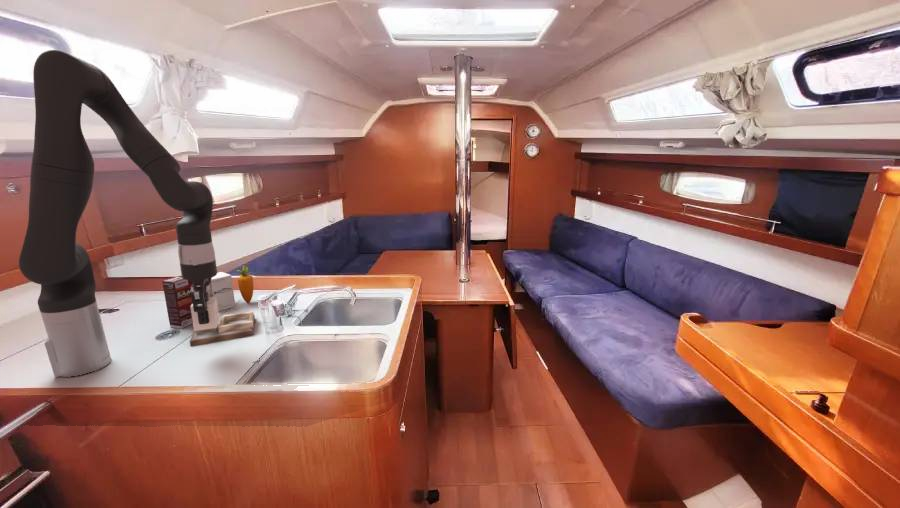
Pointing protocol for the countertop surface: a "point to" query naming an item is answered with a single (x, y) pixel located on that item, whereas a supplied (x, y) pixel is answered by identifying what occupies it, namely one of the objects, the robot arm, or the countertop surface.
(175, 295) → the supplement box
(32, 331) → the countertop surface
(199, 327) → the cream block
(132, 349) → the countertop surface
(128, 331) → the countertop surface
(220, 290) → the supplement box
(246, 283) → the carrot
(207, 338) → the base
